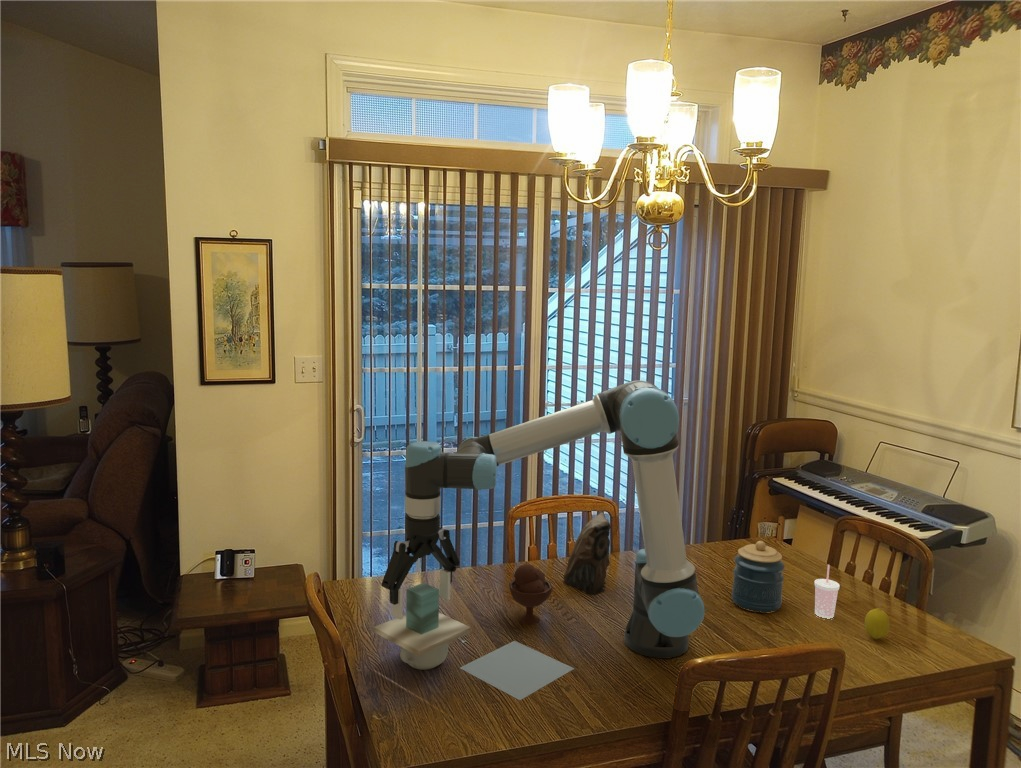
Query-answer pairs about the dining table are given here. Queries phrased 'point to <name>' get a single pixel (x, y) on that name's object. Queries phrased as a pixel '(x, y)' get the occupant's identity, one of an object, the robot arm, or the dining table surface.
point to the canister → (758, 578)
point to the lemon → (877, 623)
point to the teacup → (425, 657)
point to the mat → (517, 669)
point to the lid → (422, 623)
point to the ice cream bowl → (529, 590)
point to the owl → (590, 557)
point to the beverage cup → (825, 596)
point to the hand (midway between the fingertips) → (421, 607)
